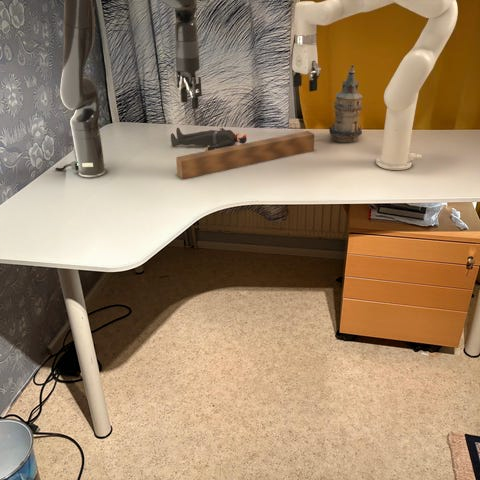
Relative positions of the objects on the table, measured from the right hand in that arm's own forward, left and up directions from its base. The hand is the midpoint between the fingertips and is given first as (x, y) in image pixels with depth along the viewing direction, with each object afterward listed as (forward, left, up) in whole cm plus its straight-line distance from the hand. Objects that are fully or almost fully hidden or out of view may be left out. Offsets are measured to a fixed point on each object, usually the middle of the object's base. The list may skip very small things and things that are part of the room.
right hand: (305, 88), depth 198 cm
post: (+22, +9, -24) cm, 34 cm away
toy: (+36, -11, -24) cm, 45 cm away
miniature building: (-20, -12, -24) cm, 34 cm away
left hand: (+43, +18, 0) cm, 46 cm away
